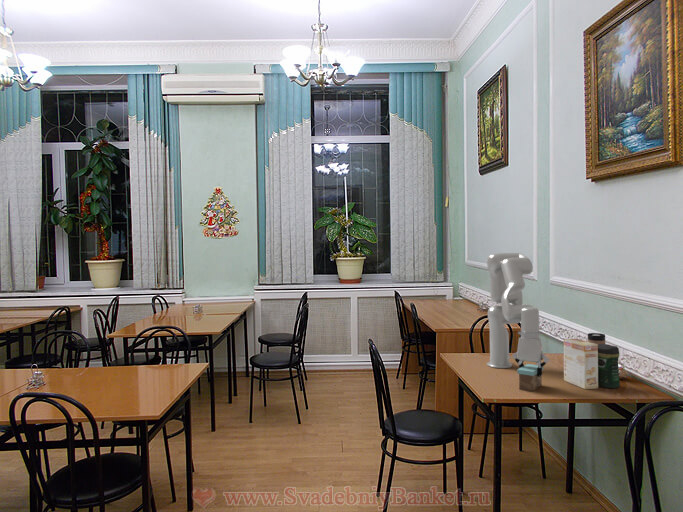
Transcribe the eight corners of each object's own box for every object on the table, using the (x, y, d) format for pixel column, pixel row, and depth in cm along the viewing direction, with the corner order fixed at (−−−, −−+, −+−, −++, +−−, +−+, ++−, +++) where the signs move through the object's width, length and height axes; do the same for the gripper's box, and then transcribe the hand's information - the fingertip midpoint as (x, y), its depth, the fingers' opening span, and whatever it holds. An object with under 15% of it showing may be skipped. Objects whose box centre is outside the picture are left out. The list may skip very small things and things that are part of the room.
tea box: (529, 383, 227) (529, 368, 227) (541, 385, 224) (541, 369, 224) (519, 389, 218) (519, 373, 218) (532, 391, 215) (532, 375, 215)
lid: (527, 369, 228) (527, 363, 228) (543, 371, 224) (543, 365, 224) (517, 375, 218) (517, 369, 218) (533, 377, 214) (533, 371, 214)
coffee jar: (623, 387, 218) (623, 345, 217) (610, 389, 215) (609, 347, 215) (604, 382, 227) (604, 341, 226) (591, 384, 224) (591, 343, 224)
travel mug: (605, 374, 240) (604, 333, 240) (606, 378, 233) (605, 336, 233) (587, 373, 243) (587, 332, 243) (588, 376, 236) (587, 335, 236)
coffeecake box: (599, 388, 218) (598, 344, 217) (584, 389, 216) (584, 345, 216) (577, 379, 232) (576, 338, 232) (563, 380, 231) (562, 338, 231)
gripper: (507, 334, 223) (508, 373, 224) (547, 338, 212) (547, 379, 212) (514, 332, 229) (514, 370, 229) (553, 335, 218) (553, 376, 218)
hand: (530, 374), depth 221 cm, fingers closed on lid, 7 cm apart
